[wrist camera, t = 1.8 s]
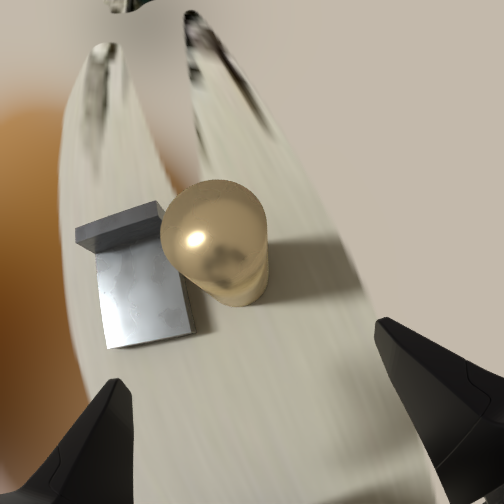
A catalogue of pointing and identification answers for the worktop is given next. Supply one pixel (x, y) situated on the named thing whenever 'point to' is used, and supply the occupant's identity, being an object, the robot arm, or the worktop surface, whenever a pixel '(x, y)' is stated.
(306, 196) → the worktop surface
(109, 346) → the press bed
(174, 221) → the ball
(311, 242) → the worktop surface
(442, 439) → the robot arm
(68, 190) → the worktop surface
